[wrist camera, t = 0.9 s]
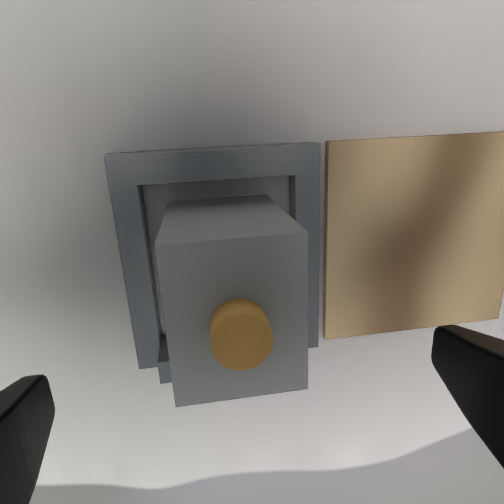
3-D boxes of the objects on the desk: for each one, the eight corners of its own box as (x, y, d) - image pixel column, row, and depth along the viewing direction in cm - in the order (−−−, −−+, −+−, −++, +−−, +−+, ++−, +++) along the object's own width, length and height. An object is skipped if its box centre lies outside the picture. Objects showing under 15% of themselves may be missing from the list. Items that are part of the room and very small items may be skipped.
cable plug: (266, 194, 16) (319, 242, 9) (270, 303, 17) (317, 411, 11) (168, 201, 15) (149, 258, 9) (181, 313, 17) (173, 432, 10)
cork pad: (526, 130, 16) (532, 130, 16) (493, 315, 19) (498, 318, 19) (325, 141, 15) (328, 141, 15) (323, 336, 18) (325, 339, 18)
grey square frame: (314, 142, 15) (331, 143, 13) (313, 337, 18) (326, 362, 16) (108, 153, 14) (95, 157, 12) (141, 358, 17) (135, 386, 15)
